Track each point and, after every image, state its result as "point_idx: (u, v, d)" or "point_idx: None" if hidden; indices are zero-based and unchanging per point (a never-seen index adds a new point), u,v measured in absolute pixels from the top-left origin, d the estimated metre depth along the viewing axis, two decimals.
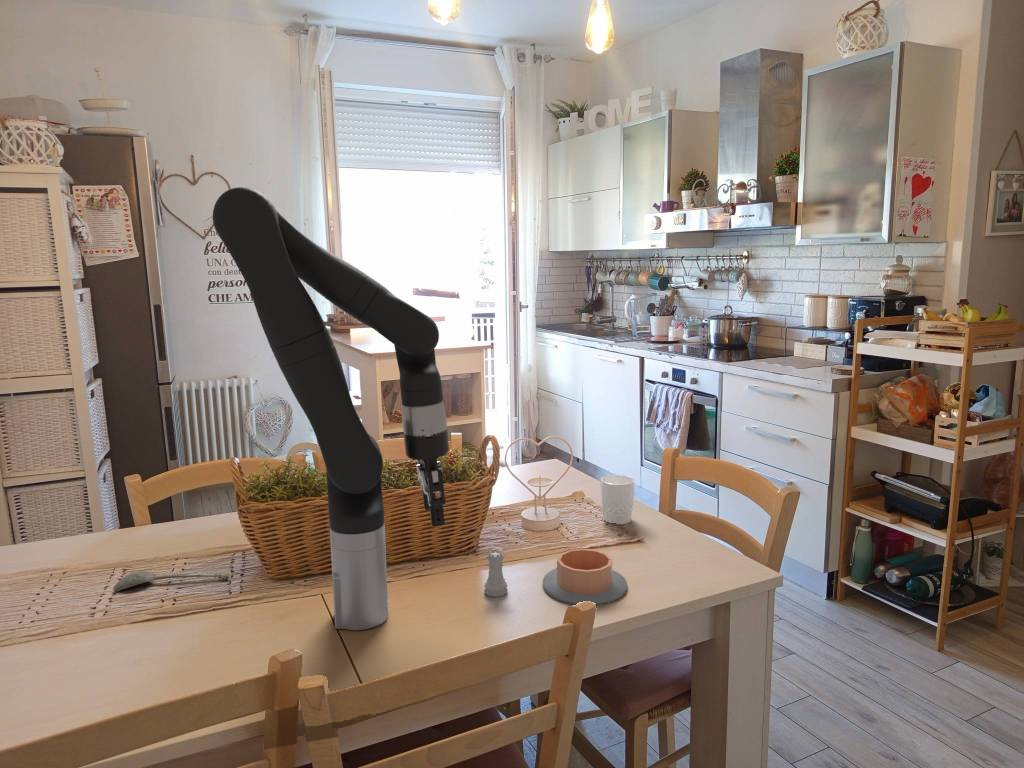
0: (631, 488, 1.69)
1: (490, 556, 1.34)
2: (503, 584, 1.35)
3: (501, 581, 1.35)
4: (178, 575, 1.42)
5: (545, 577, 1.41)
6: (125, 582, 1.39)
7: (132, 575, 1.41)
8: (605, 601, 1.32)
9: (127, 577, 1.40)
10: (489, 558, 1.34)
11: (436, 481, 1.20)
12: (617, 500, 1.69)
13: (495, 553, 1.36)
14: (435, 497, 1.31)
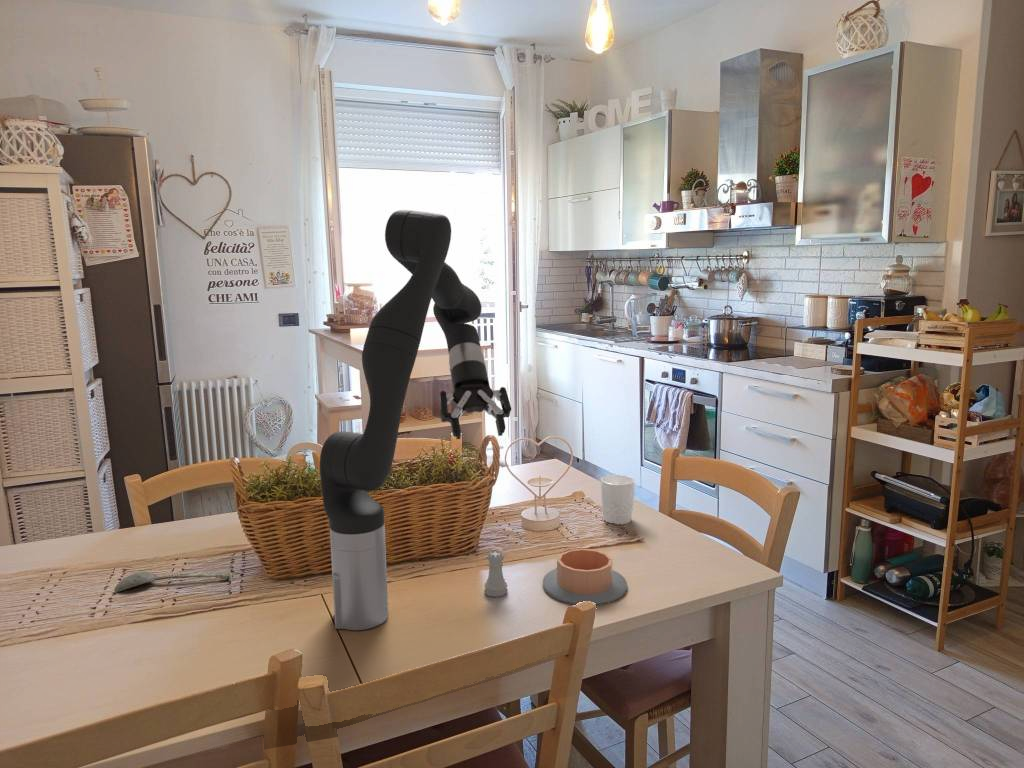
0: (631, 488, 1.69)
1: (490, 556, 1.34)
2: (503, 584, 1.35)
3: (501, 581, 1.35)
4: (179, 575, 1.42)
5: (545, 577, 1.41)
6: (126, 583, 1.39)
7: (133, 576, 1.40)
8: (605, 601, 1.32)
9: (128, 578, 1.40)
10: (489, 558, 1.34)
11: None
12: (617, 500, 1.69)
13: (495, 553, 1.36)
14: None
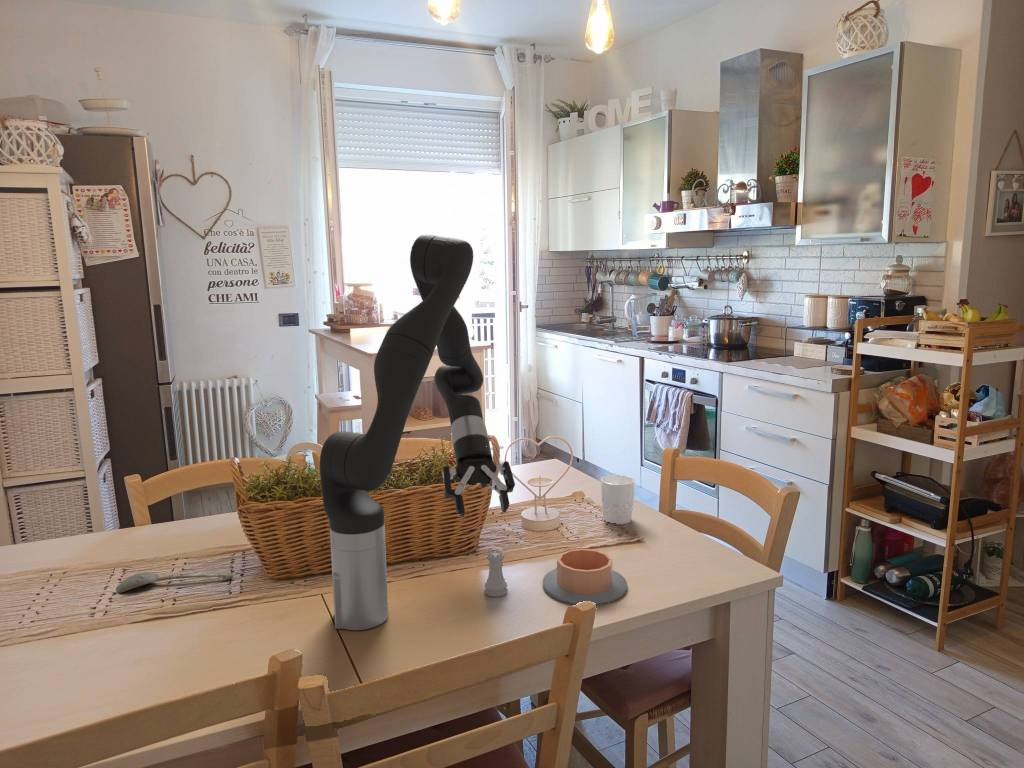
0: (631, 488, 1.69)
1: (490, 556, 1.34)
2: (503, 584, 1.35)
3: (501, 581, 1.35)
4: (182, 576, 1.42)
5: (545, 577, 1.41)
6: (128, 583, 1.38)
7: (135, 576, 1.40)
8: (605, 601, 1.32)
9: (130, 578, 1.40)
10: (489, 558, 1.34)
11: None
12: (617, 500, 1.69)
13: (495, 553, 1.36)
14: None
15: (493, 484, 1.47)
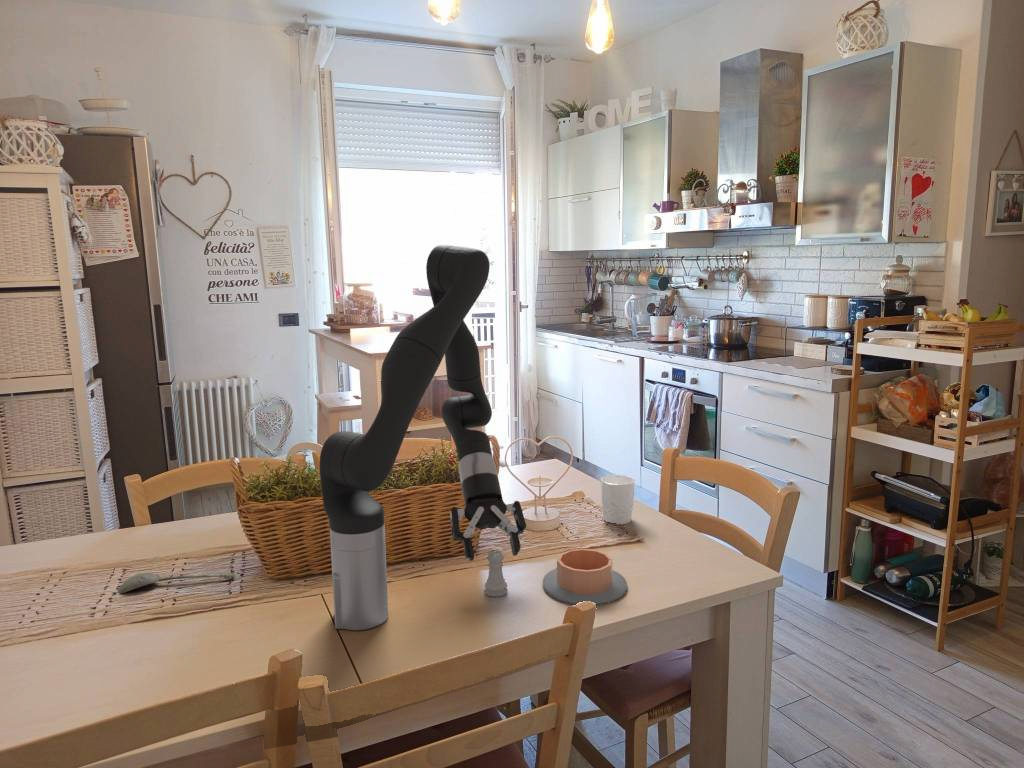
0: (631, 488, 1.69)
1: (490, 556, 1.34)
2: (503, 584, 1.35)
3: (501, 581, 1.35)
4: (183, 576, 1.42)
5: (545, 577, 1.41)
6: (130, 584, 1.38)
7: (137, 577, 1.40)
8: (605, 601, 1.32)
9: (132, 579, 1.39)
10: (489, 558, 1.34)
11: None
12: (617, 500, 1.69)
13: (495, 553, 1.36)
14: None
15: (503, 525, 1.40)
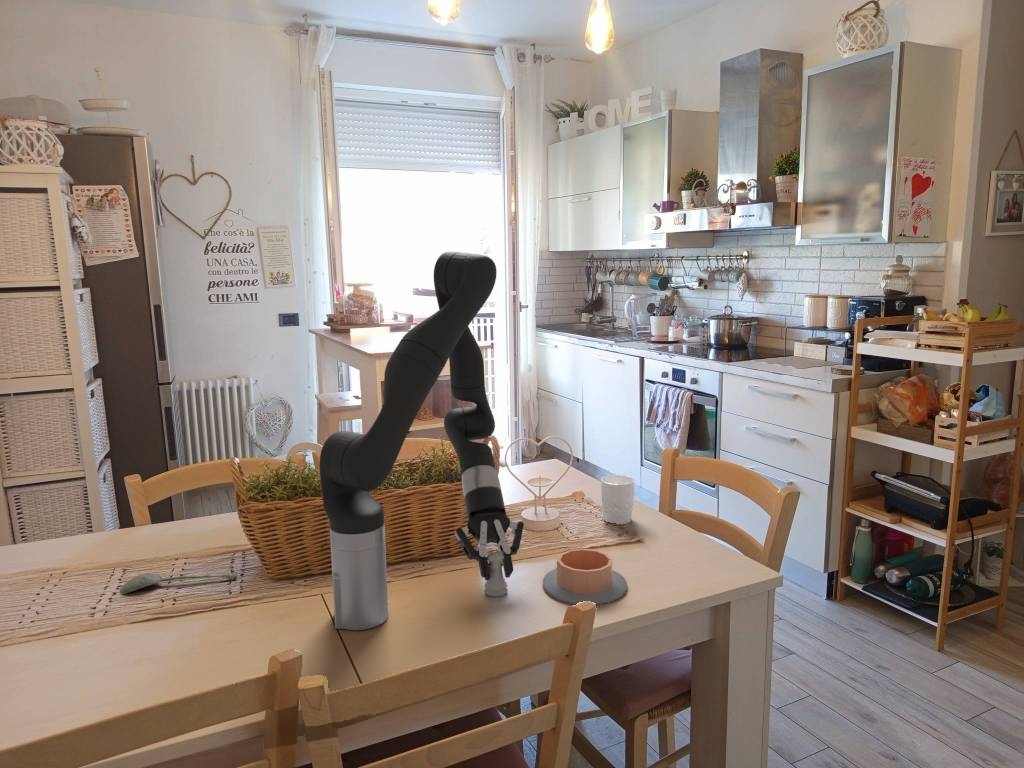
0: (631, 488, 1.69)
1: (490, 556, 1.34)
2: (503, 584, 1.35)
3: (501, 581, 1.35)
4: (185, 576, 1.41)
5: (545, 577, 1.41)
6: (132, 585, 1.38)
7: (138, 577, 1.39)
8: (605, 601, 1.32)
9: (133, 580, 1.39)
10: (489, 558, 1.34)
11: None
12: (617, 500, 1.69)
13: (495, 553, 1.36)
14: None
15: (499, 543, 1.38)
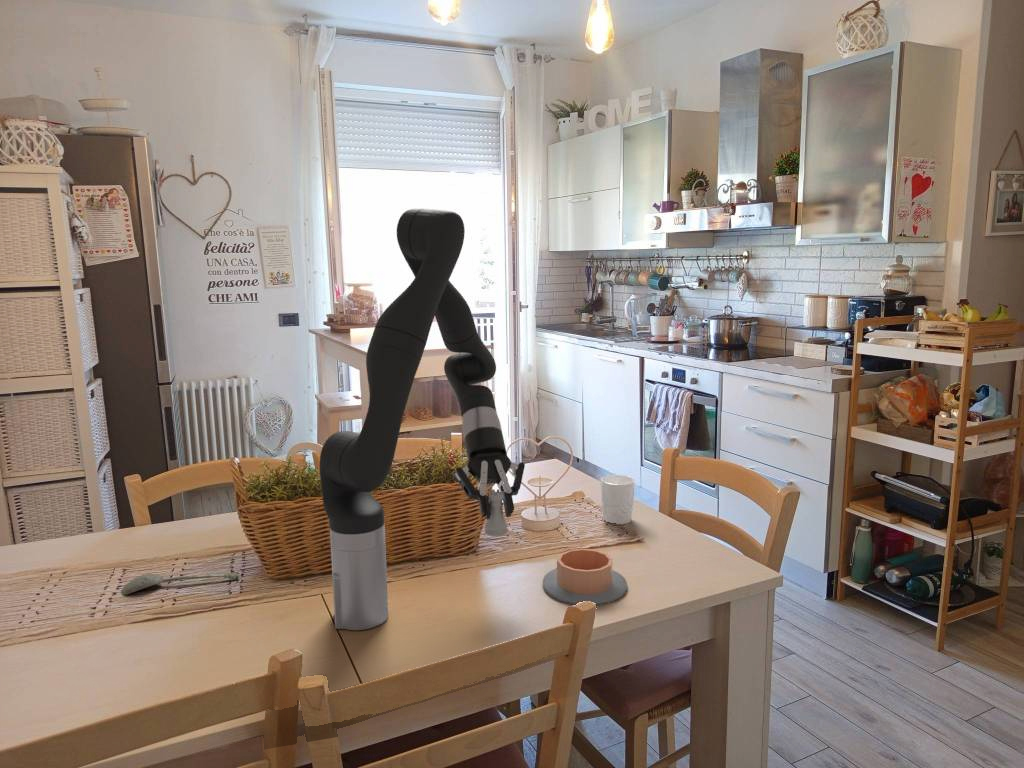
0: (631, 488, 1.69)
1: (490, 495, 1.33)
2: (504, 523, 1.33)
3: (502, 520, 1.33)
4: (187, 577, 1.41)
5: (545, 577, 1.41)
6: (133, 585, 1.37)
7: (140, 578, 1.39)
8: (605, 601, 1.32)
9: (135, 580, 1.39)
10: (489, 497, 1.32)
11: None
12: (617, 500, 1.69)
13: (495, 492, 1.34)
14: None
15: (500, 483, 1.36)
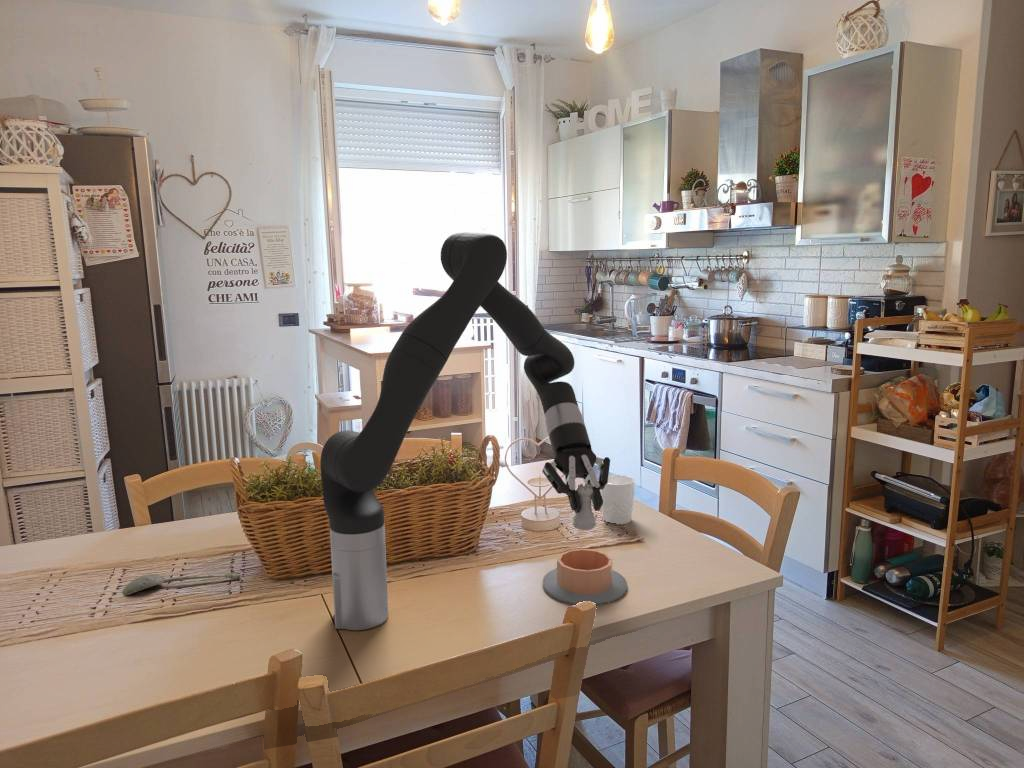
0: (631, 488, 1.69)
1: (580, 489, 1.35)
2: (592, 517, 1.36)
3: (590, 514, 1.36)
4: (189, 577, 1.41)
5: (545, 577, 1.41)
6: (135, 586, 1.37)
7: (141, 578, 1.39)
8: (605, 601, 1.32)
9: (136, 581, 1.39)
10: (579, 491, 1.35)
11: None
12: (617, 500, 1.69)
13: (584, 487, 1.36)
14: None
15: (587, 477, 1.38)
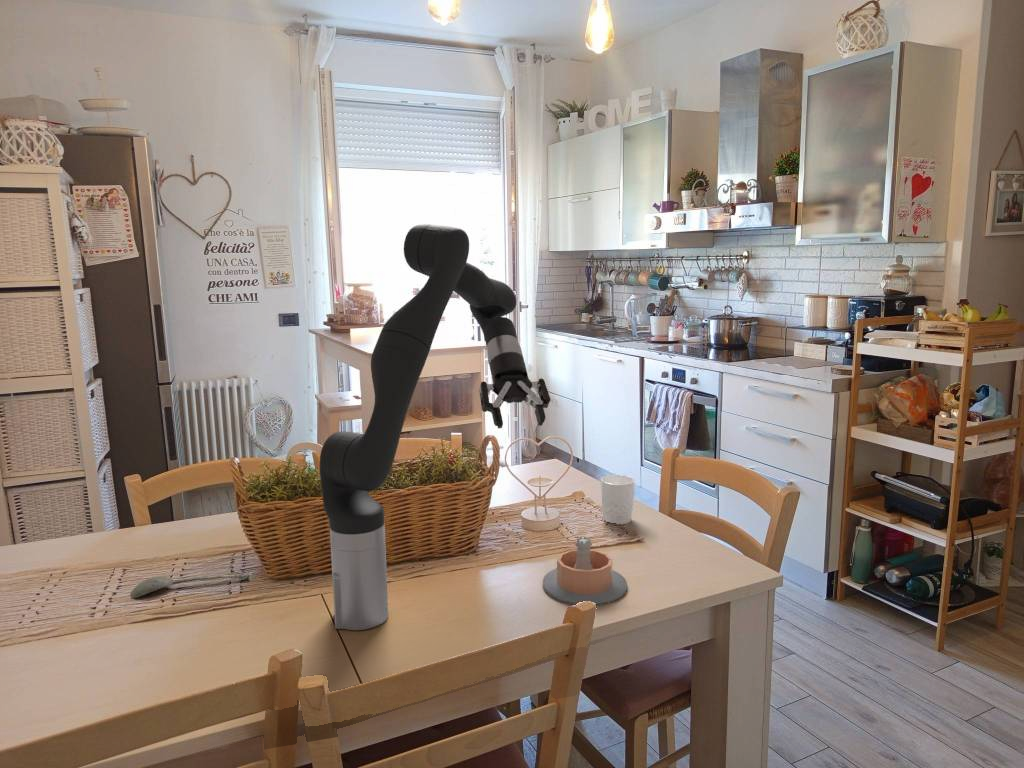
0: (631, 488, 1.69)
1: (579, 542, 1.37)
2: None
3: (589, 567, 1.37)
4: (197, 578, 1.41)
5: (545, 577, 1.41)
6: (144, 588, 1.36)
7: (150, 581, 1.38)
8: (605, 601, 1.32)
9: (145, 583, 1.38)
10: (578, 544, 1.37)
11: None
12: (617, 500, 1.69)
13: (583, 539, 1.38)
14: None
15: (529, 399, 1.50)
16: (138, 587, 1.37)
